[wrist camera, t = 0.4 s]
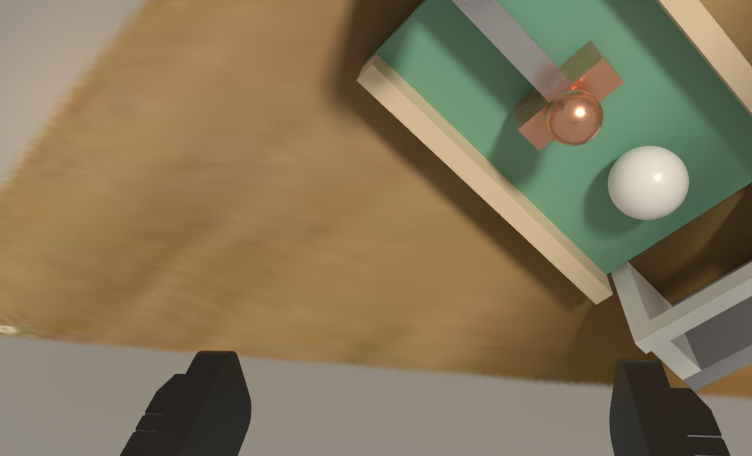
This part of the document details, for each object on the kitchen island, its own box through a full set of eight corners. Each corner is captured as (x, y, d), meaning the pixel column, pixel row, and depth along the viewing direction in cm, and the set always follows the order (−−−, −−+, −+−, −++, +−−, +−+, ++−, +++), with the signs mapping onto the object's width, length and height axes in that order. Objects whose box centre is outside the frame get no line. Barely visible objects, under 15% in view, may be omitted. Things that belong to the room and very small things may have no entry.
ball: (648, 119, 33) (669, 150, 30) (691, 167, 34) (716, 202, 31) (586, 165, 35) (599, 199, 31) (629, 209, 36) (646, 247, 32)
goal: (781, 159, 34) (847, 223, 28) (838, 227, 36) (911, 301, 30) (609, 269, 39) (634, 343, 34) (666, 324, 41) (699, 404, 35)
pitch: (567, -153, 28) (577, -153, 25) (799, 138, 33) (827, 161, 31) (364, 63, 34) (356, 80, 32) (588, 275, 40) (596, 304, 37)
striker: (418, -155, 27) (403, -155, 21) (616, 68, 31) (656, 127, 25) (345, -65, 29) (312, -40, 23) (538, 132, 33) (556, 200, 27)
